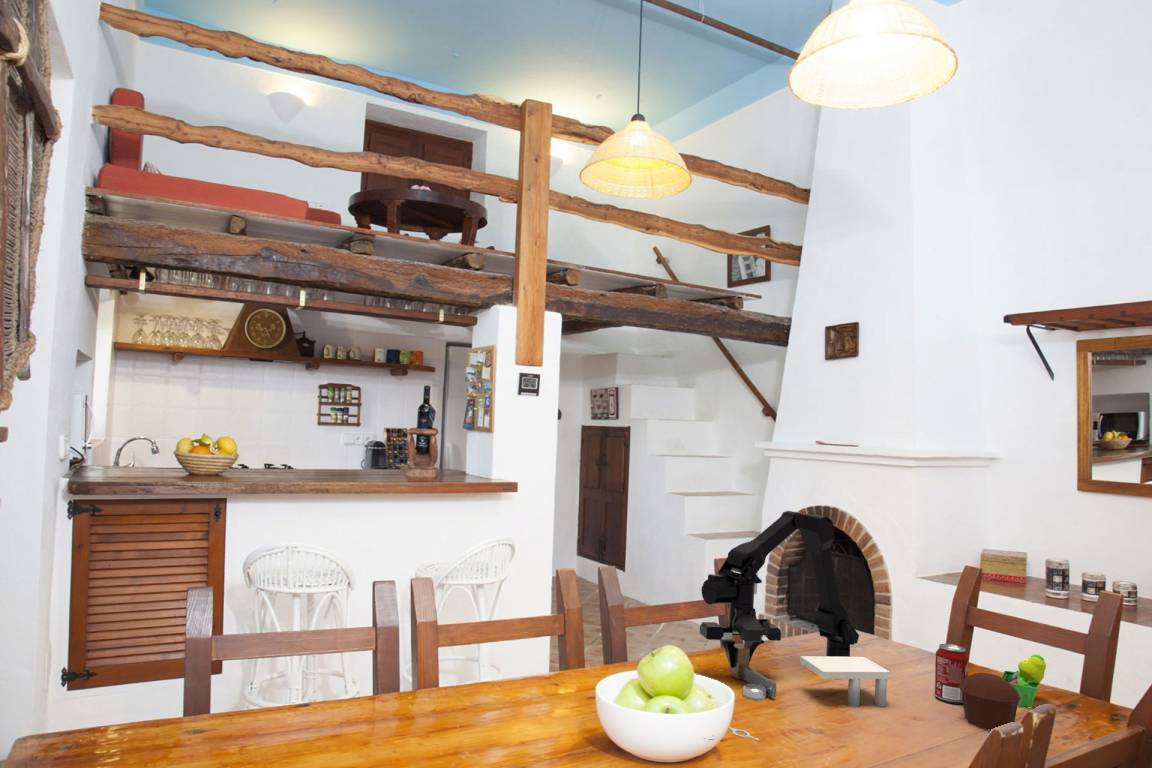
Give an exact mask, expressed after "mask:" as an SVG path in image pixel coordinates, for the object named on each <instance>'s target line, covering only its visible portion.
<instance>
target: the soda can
mask: <svg viewBox="0 0 1152 768" xmlns="http://www.w3.org/2000/svg"><path fill="white" fill-rule="evenodd" d="M934 664H935V665H934V667H935V669H934V670H935V672H934V695H935V697H937V698H938V699H939V700H940V701H942V702H946V703H948V702H949V704H953V703H955V704H954V705H956V704H957V705H960V704H963V698H962V691H961V690H960V688H959V685H960V684H961V683H962V681H963V680H964V679H965V678H966V677H967V676H969V657H968V654H967V653H966V648H965V647H963V646H960V645H958V644H957V645H956V644H952V643H951V644H950V643H940V644H939V645H938V648H937V650H936V651H935V663H934Z"/></svg>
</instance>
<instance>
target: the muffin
mask: <svg viewBox="0 0 1152 768" xmlns="http://www.w3.org/2000/svg"><path fill="white" fill-rule="evenodd" d="M1001 677H1002V676H998V675H996V674H993V673H988V672H975V673H972V674H968V676H967V677H966V678H965V679H964V680H963V681H962V683H961V684H960V685H959V688H960V690H961V691H962V698H963V702H962V704H963V713H964V718H966V719H967V720H968V721H967V720H966V719H965V720H966V721H967V722H968V723H969V724H970V723H971V724H970V725H972V724H973V725H972V726H976V727H977V728H979V729H982V728H983V730H988V729H990V730H988V731H991V729H993V728H995V727H998V726H1001V725H1004V724H1007V723H1010V722H1014V723H1015V720H1016V714H1017V711H1018V707H1019V706H1018V702H1019V701H1020V699H1021V697H1020V695H1019V694H1018V692H1017V690H1016V689H1015V688H1014V686H1012V685H1011V684H1010V683H1009V682H1007V681H1006V680H1005V679H1003V678H1001Z"/></svg>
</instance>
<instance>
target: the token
mask: <svg viewBox="0 0 1152 768" xmlns="http://www.w3.org/2000/svg"><path fill="white" fill-rule="evenodd" d="M742 688H743V690H742V692H743V693H742V697H745V698H746V699H749V700H753V701H764V700H766V698H767V694H766V688H765V687H763V686H761V685H757V684H750V683H746V684H744V685H743V687H742Z"/></svg>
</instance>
